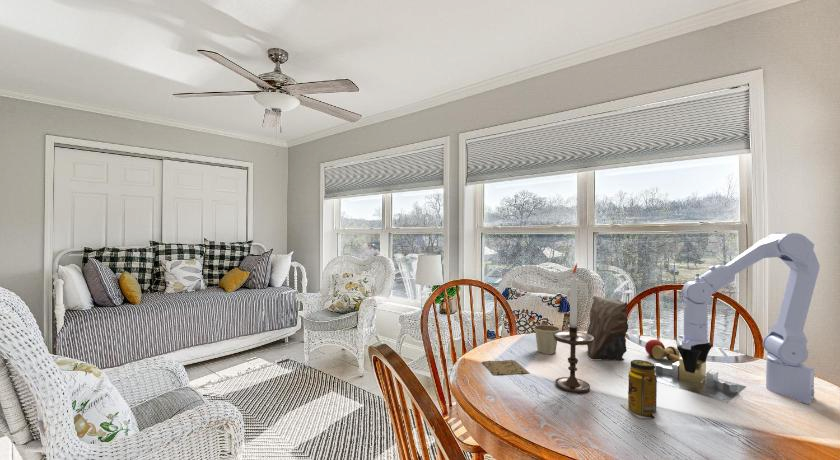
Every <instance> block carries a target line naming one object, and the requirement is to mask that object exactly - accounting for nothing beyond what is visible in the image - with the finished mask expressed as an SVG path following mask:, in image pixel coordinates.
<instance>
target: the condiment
mask: <svg viewBox="0 0 840 460" xmlns="http://www.w3.org/2000/svg"><path fill="white" fill-rule="evenodd" d="M629 369H630V370H629V371H628V384H627V385H628V388H627V390H628V391H627V394H628V395H627V397H628V398H627V399H628V401H627V402H628V403H627V404H621V407H623V408H624V409H625V410H627V411H628V412H629V413H631V414H632V415H634V416H635V417H636V418H638V419H643V420H644V419H646V420H648V419H656V417H655V416H654V414H655V413H656V412H657V397H658V396H657V391H658V390H657V387H658V385H657V384H658V382H657V377H656V375H655V363H653V362H650V361H648V360H643V359H633V360H631V361H630V368H629Z"/></svg>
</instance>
